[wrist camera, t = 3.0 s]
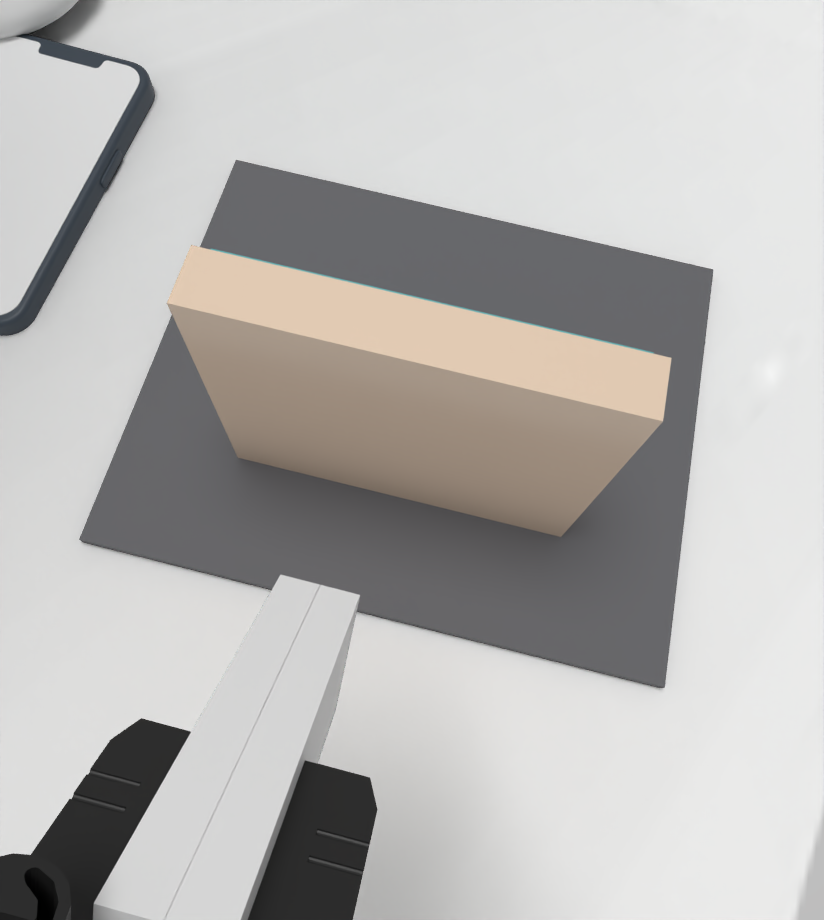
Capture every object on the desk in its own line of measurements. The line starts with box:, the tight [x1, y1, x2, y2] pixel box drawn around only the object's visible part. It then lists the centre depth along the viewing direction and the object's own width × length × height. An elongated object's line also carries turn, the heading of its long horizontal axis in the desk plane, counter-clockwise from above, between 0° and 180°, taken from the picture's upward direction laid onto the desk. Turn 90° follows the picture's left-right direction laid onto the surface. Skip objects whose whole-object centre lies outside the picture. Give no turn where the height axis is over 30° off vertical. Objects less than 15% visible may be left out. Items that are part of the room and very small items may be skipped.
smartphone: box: [0, 34, 154, 335], centre depth 37 cm, size 9×2×16 cm
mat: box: [79, 160, 713, 688], centre depth 34 cm, size 24×20×1 cm
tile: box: [167, 245, 671, 537], centre depth 27 cm, size 14×2×12 cm, turn 76°
